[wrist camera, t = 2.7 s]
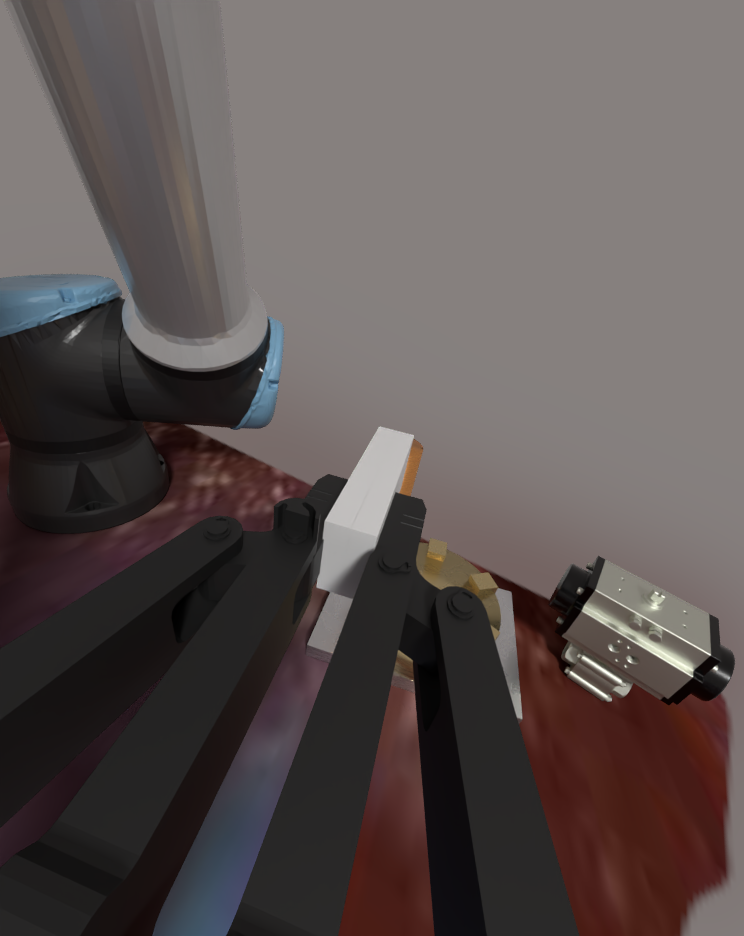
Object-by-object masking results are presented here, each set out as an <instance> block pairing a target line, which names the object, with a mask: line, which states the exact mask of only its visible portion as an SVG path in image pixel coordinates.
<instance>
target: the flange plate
mask: <svg viewBox="0 0 744 936" xmlns="http://www.w3.org/2000/svg"><path fill="white" fill-rule="evenodd" d="M495 595H496V597H497V599H498V603H499V606H500V612H501V625H500V630H499V632H500V634H499V636H498V638H497V639H496V641H495V643H496V646H497V650H498V653H499V657H500V660H501V664H502V667H503V671H504V674H505V678H506V681H507V685H508V688H509V692H510V695H511V699H512V702H513V706H514V709H515V713H516V716H517V720H518V723H520V722H521V721H522V709H521V697H520V686H519V674H518V663H517V651H516V639H515V628H514V616H513V605H512V593H511V592H510V591H506V590H503V589H500V588H498V589H497V591H496V593H495ZM352 601H353V599H351V598H348V597H345V596H342V595H338V594H335V593H332V592H330V594H329V596H328V598H327V601H326V603H325V605H324V607H323V610H322V612H321V614H320V616H319V619H318V621H317V623H316V626H315V628H314V630H313V632H312V635H311V637H310V639H309V641H308V644H307V649H306V655H308V656H311V657H313V658H316V659H319V660H322V661H325V662H328V663H330V660H331V657H332V655H333V652H334V649H335V647H336V644H337V641H338V639H339V636H340V633H341V631H342V628H343V625H344V622H345V620H346V617H347V614H348V612H349V609H350V606H351V604H352ZM391 685H393V686H396V687H399V688H402V689H405V690H408V691H410V692H413V693H415V686H414V680H412V679H409V678H407V677H404V676H402V675H400V674H398V673H396V672H395V671H394V672H393V677H392V682H391Z"/></svg>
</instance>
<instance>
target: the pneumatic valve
mask: <svg viewBox="0 0 744 936" xmlns="http://www.w3.org/2000/svg"><path fill="white" fill-rule="evenodd" d="M586 568H587V569H589V570H588V572H587V571H585V570H584V569H582V568H580V567H578V566H576V565H574V564H571V565H570V566H569V568H568V569H567V571H566V572H565V574H564V575H563V577H562V579H561V580H560V582H559V584H558V586H557V587H556V590H555V591H554V593H553V595H552V597H551V599H550V601H549V604H548V605H549V606H550V607H551V608H553V609H554V610H556V611H558V612H559V613H561V614H562V615H561V617H560V616H559V617H558V618H557V620H556V622H558V625H557V628H556V630H555V632H556V633H557V634H559V635H560V636H562V637H563V638H565V639H567V640H568V643H567V644H566V646H565V648H564V650H563V652H562V655H561V658H562V660H564V661H565V662H567V663H568V664H570V668H569V667H568V666H567V667H566V668H565V671H564V672H565V673H566V674H567V677H568V678H570V679H571V680H573V681H574V682H575V683H577V684H578V685H580V686H581V687H583V688H584V689H586V690H587V691H588V692H590V693H591V694H593V695H594V696H596V697H597V698H599V699H600V700H602V701H604V700H605V701H607V702H609V701H610V702H611V701H612V698H611V695H609V693H613V694H614V695H616V696H617V697H620V698H623V697H625V696H626V695H627V694H628V692H629V691H630V689H631V687H632V684H633V683H635V684H636V685H638V686H639V687H641V688H643V689H644V690H646V691H647V692H649V693H650V694H652V695H653V696H655V697H657V698H658V699H660V700H661V701H663V702H664V703H666V704H667V705H670V704H671V703H672V702H674V703H675V704H679V703H680V702H681V701H682V700H683V699H685V698H686V697H687V696H688V695H689V694H692V695H694V696H695V697H697V698H699V699H700V700H702V701H710V700H712V699H714V698H716V697H717V696H718V695H719V694H720V693H721V692H722V691H723V690H724V689H725V687H726V686H727V684H728V682H729V681H730V679H731V676H732V674H733V670H734V665H735V658H734V655H733V653H732V651H731V650H729V649H728V648H726V647H724V646H722V645H720V635H719V621H718V618H716V617H714V616H712V615H710V614H708V613H706V612H704V611H703V610H700V609H699V608H697V607H695V606H693V605H691V604H689V603H687V602H685V601H683V600H682V599H680V598H678V597H676V596H674V595H672V594H670V593H668V592H666V591H664V590H662V589H661V588H659V587H657V586H655V585H653V584H651V583H649V582H647V581H645V580H643V579H641V578H640V577H638V576H636V575H634V574H632V573H630V572H628V571H626V570H624V569H622V568H620V567H619V566H617V565H615V564H613V563H611V562H609V561H607V560H605V559H603V558H601V557H600V556H598V557H597V558H596V560H595V561H594V563H593V564H591V563H588V564H587V566H586Z"/></svg>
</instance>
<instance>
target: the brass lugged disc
mask: <svg viewBox="0 0 744 936" xmlns="http://www.w3.org/2000/svg"><path fill="white" fill-rule="evenodd" d="M422 452H423V447H422V445H421V444H420V443H419V442H418V441H416V440H415V439H413V442H412V446H411V450H410V454H409V458H408V462H407V466H406V470H405V474H404V478H403V482H402V486H401V490H400V494H404V495H407V496H411V492H412V489H413V485H414V481H415V478H416V474H417V470H418V467H419V463H420V459H421V456H422ZM446 549H447V543H445V542H442V541H438V540H435V539H432V538H430V541H429V544H426V543H419V547H418V552H417V557H416V565H417V569H418V571H419V572H420V574H421V575H422V576H423V577H424V579H425V580H427V581H428V582H429V583H431V584H432V585H434V586H435V587H437V588H439V589H440V590H441V589H443V588H446V587H449V586H458V587H461V588H465V589H467V590H469V591H470V592H472V593H474V594H475V595H476V596H477V597H478V598H479V599H480V600H481V601H482V603H483V605H484V607H485V609H486V611H487V615H488V618H489V622H490V625H491V629H492V632H493V636H494V639H495V641H496V639H497V638H498V636H499V634H500V632H499V630H500V625H501V612H500V606H499V603H498V599H497V597H496V595H495V593H496V591H497V589H498V586H497V585H496V583H495V582H494V580H493V579H492V577H491V576H490V574H489V573H480V572H479V571H478V570H477V569H476V568H475V567H474V566H473V565H472V564H470V563H469V562H468V561H466V560H465V559H463V558H462V557H460V556H459V555H457V554H455V553H453V552H451V551H449V550H446ZM394 671H395V672H396V673H398V674H400V675H402V676H404V677H407V678H409V679H412V680H414V674H413V660H412V659H410V658H409V657H408V656H406V655H405V654H403V653H402V652H401V651H399V650H398V654H397V658H396V663H395V668H394Z"/></svg>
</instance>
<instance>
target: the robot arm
mask: <svg viewBox="0 0 744 936" xmlns="http://www.w3.org/2000/svg"><path fill="white" fill-rule="evenodd" d="M3 1H4V4H5V6H6V8H7V11H8V13H9V15H10V17H11V20H12V22H13V24H14V27H15V29H16V31H17V34H18V36H19V38H20V40H21V43H22V45H23V47H24V49H25V52H26V54H27V57H28V58H29V61H30V63H31V66H32V68H33V70H34V73H35V75H36V77H37V79H38V82H39V84H40V86H41V89H42V91H43V93H44V96H45V98H46V100H47V103H48V105H49V107H50V109H51V111H52V114H53V116H54V118H55V121H56V123H57V125H58V128H59V130H60V132H61V134H62V137H63V139H64V142H65V144H66V146H67V148H68V151H69V153H70V155H71V158H72V160H73V162H74V165H75V167H76V169H77V171H78V174H79V176H80V178H81V180H82V183H83V185H84V187H85V190H86V192H87V194H88V196H89V199H90V201H91V203H92V206H93V208H94V210H95V213H96V215H97V217H98V220H99V222H100V224H101V227H102V229H103V231H104V233H105V235H106V238H107V240H108V243H109V245H110V247H111V249H112V252H113V254H114V256H115V258H116V261H117V263H118V266H119V268H120V270H121V272H122V275H123V277H124V279H125V282H126V284H127V286H128V289H129V291H130V292H129V294H128V296H127V298H126V299H122V298H121V297H120V296H121V295H122V291H121V290H120V289H119V287H118V285H117V283H116V282H115V281H114V280H113V279H110V278H104V277H101V276H96V275H78V274H76V275H75V274H51V275H29V276H15V277H6V278H0V420H1V422H2V425H3V427H4V429H5V432H6V434H7V437H8V439H9V442H10V446H11V449H10V462H9V484H8V487H7V495H8V499H9V501H10V504H11V506H12V508H13V510H14V513H15V515H16V516H17V518H18V519H19V520H20V521H21V522H22V523H24V524H26V525H27V526H29V527H32V528H34V529H37V530H41V531H45V532H52V533H84V532H91V531H97V530H102V529H106V528H110V527H114V526H117V525H120V524H123V523H125V522H128V521H130V520H133V519H135V518H137V517H139V516H141V515H143V514H144V513H146V512H147V511H149V510H150V509H152V508H153V507H154V506H156V505H157V504H158V503H159V502H160V501H161V500H162V499H163V497H164V496H165V494H166V493H167V491H168V488H169V476H168V470H167V465H166V463H165V461H164V459H163V457H162V456H161V455H160V454H159V452H158V450H157V448H156V446H155V444H154V443H153V441H152V440H151V438H150V436H149V435H148V433H147V432H146V430H145V428H144V426H143V422H142V421H147V422H161V423H175V424H189V425H203V426H216V427H228V428H231V429H234V430H237V429H240V428H262V427H265V426H266V425H268V424H269V423H270V421H271V420H272V417H273V414H274V410H275V405H276V399H277V393H278V383H279V377H280V373H281V364H282V354H283V341H284V328H283V325H282V324H281V322H280V321H278V320H274V319H273V318H272V317H268V316H267V313H266V309H265V306H264V304H263V302H262V300H261V298H260V297H259V296H258V294H257V293H256V292H255V291H254V290H253V288H251V287H250V286H249V285H248V284H247V281H246V271H245V261H244V249H243V239H242V228H241V218H240V207H239V198H238V187H237V177H236V176H237V175H236V165H235V155H234V144H233V134H232V123H231V112H230V102H229V91H228V80H227V70H226V59H225V50H224V38H223V28H222V18H221V7H220V0H3ZM413 438H414V435H410V434H407V433H403V432H399V431H395V430H391V429H387V428H384V427H379V428H378V430H377V432H376V433H375V435H374V437H373V438H372V440H371V442H370V444H369V445H368V447H367V449H366V451H365V452H364V454H363V456H362V457H361V459H360V461H359V463H358V464H357V466H356V468H355V470H354V471H353V473H352V475H351V476H350V478H349V480H347V479H344V478H340V477H337V476H333V475H330V474H328V475H326V476H324V477H322V478H321V479H319V480H318V481H317V482H316V483H315V485H314V486H313V487H312V490H310V492H309V493H308V494H307V497H305V499H301V498H289V499H285V500H283V501H280V502H279V503H277V504H276V505H275V506H274V528H273V530H272V531H267V532H253V531H243V528H242V525H241V523H239V522H238V521H237V520H236V519H234V518H231V517H228V516H215V517H210V518H207V519H205V520H203V521H200V522H199V523H197V524H196V525H194V526H192V527H191V528H189V529H188V530H186V531H185V532H183V533H181V534H180V535H178V536H177V537H175V538H174V539H172V540H170V541H169V542H167V543H166V544H164V545H163V546H161V547H159V548H158V549H156V550H155V551H153V552H152V553H150V554H148V555H147V556H145V557H144V558H142V559H141V560H139V561H137V562H136V563H134V564H133V565H131V566H130V567H128V568H126V569H125V570H123V571H122V572H120V573H119V574H117V575H115V576H114V577H112V578H111V579H109V580H107V581H106V582H104V583H103V584H101V585H100V586H98V587H96V588H95V589H93V590H92V591H90V592H89V593H87V594H85V595H84V596H82V597H81V598H79V599H78V600H76V601H74V602H73V603H71V604H70V605H68V606H67V607H65V608H63V609H62V610H60V611H59V612H57V613H56V614H54V615H52V616H51V617H49V618H48V619H46V620H45V621H43V622H41V623H40V624H38V625H37V626H35V627H34V628H32V629H30V630H29V631H27V632H26V633H24V634H23V635H21V636H19V637H18V638H16V639H15V640H13V641H12V642H10V643H8V644H7V645H5V646H4V647H2V648H1V649H0V828H1V827H2V826H3V825H4V824H5V823H6V822H7V821H8V820H9V819H10V818H11V817H12V816H13V815H14V814H16V813H17V812H18V811H19V810H20V809H21V808H22V807H23V806H24V805H25V804H26V803H27V802H28V801H29V800H30V799H32V798H33V797H34V796H35V795H36V794H37V793H38V792H39V791H40V790H41V789H42V788H43V787H44V786H45V785H46V784H48V783H49V782H50V781H51V780H52V779H53V778H54V777H55V776H56V775H57V774H58V773H59V772H60V771H61V770H62V769H64V768H65V767H66V766H67V765H68V764H69V763H70V762H71V761H72V760H73V759H74V758H75V757H76V756H77V755H78V754H80V753H81V752H82V751H83V750H84V749H85V748H86V747H87V746H88V745H89V744H90V743H91V742H92V741H93V740H94V739H96V738H97V737H98V736H99V735H100V734H101V733H102V732H103V731H104V730H105V729H106V728H107V727H108V726H109V725H110V724H111V723H113V722H114V721H115V720H116V719H117V718H118V717H119V716H120V715H121V714H122V713H123V712H124V711H125V710H126V709H127V708H129V707H130V706H131V705H132V704H133V703H134V702H135V701H136V700H137V699H138V698H139V697H140V696H141V695H142V694H143V693H145V692H146V691H147V690H148V689H149V688H150V687H151V686H152V685H153V684H154V683H155V682H156V681H157V680H158V679H159V678H161V677H162V676H163V675H164V674H165V673H166V672H167V673H166V674H165V675H164V677H163V678H162V679H161V681H160V682H159V683H158V685H157V686H156V687H155V689H154V690H153V692H152V693H151V694H150V696H149V697H148V698H147V700H146V701H145V702H144V704H143V705H142V706H141V708H140V709H139V710H138V712H137V713H136V714H135V716H134V717H133V718H132V720H131V721H130V722H129V724H128V725H127V727H126V728H125V729H124V731H123V732H122V733H121V735H120V736H119V737H118V739H117V740H116V741H115V743H114V744H113V745H112V747H111V748H110V749H109V751H108V752H107V753H106V755H105V756H104V758H103V759H102V760H101V762H100V763H99V764H98V766H97V767H96V768H95V770H94V771H93V772H92V774H91V775H90V776H89V778H88V779H87V780H86V782H85V783H84V784H83V786H82V787H81V789H80V790H79V791H78V793H77V794H76V795H75V797H74V798H73V799H72V801H71V802H70V803H69V805H68V806H67V807H66V809H65V810H64V811H63V813H62V814H61V815H60V817H59V818H58V819H57V821H56V822H55V823H54V824H53V826H52V827H51V828H50V829H49V830H48V832H46V833H45V834H44V835H43V836H42V837H41V838H40V839H39V840H38V841H36V842H35V843H33V844H31V845H30V846H28V847H26V848H25V849H23V850H21V851H20V852H18V853H16V854H15V855H14V856H13V857H11V858H10V859H9V860H8V861H7V862H6V863H5V864H4V865H3V866H2V867H1V868H0V936H152V934H153V931H154V927H155V924H156V921H157V918H158V916H159V913H160V911H161V909H162V906H163V904H164V902H165V900H166V898H167V896H168V894H169V892H170V889H171V887H172V885H173V883H174V881H175V879H176V877H177V875H178V873H179V871H180V869H181V867H182V865H183V863H184V861H185V858H186V856H187V854H188V852H189V850H190V848H191V846H192V844H193V842H194V840H195V838H196V836H197V834H198V832H199V830H200V827H201V825H202V823H203V821H204V819H205V817H206V815H207V813H208V811H209V809H210V807H211V805H212V803H213V801H214V799H215V797H216V794H217V792H218V790H219V788H220V786H221V784H222V782H223V780H224V778H225V776H226V774H227V772H228V770H229V768H230V766H231V763H232V761H233V759H234V757H235V755H236V753H237V751H238V749H239V747H240V745H241V743H242V741H243V739H244V737H245V735H246V732H247V730H248V728H249V726H250V724H251V722H252V720H253V718H254V716H255V714H256V712H257V710H258V708H259V706H260V704H261V702H262V699H263V697H264V695H265V693H266V691H267V689H268V687H269V685H270V683H271V681H272V679H273V677H274V675H275V673H276V671H277V668H278V666H279V664H280V662H281V660H282V658H283V656H284V654H285V652H286V650H287V648H288V646H289V644H290V642H291V640H292V637H293V635H294V633H295V631H296V629H297V627H298V625H299V623H300V621H301V619H302V617H303V615H304V613H305V611H306V609H307V607H308V604H309V602H310V599H311V593H312V588H313V586H314V584H315V582H316V580H317V588H320V589H323V590H326V591H329V592H332V593H335V594H338V595H342V596H345V597H348V598H351V599H353V601H352V604H351V606H350V609H349V612H348V614H347V617H346V620H345V622H344V625H343V628H342V631H341V633H340V636H339V639H338V641H337V644H336V647H335V649H334V652H333V655H332V657H331V660H330V663H329V666H328V668H327V671H326V674H325V676H324V679H323V682H322V684H321V687H320V690H319V692H318V695H317V698H316V700H315V703H314V706H313V709H312V711H311V714H310V717H309V719H308V722H307V725H306V727H305V730H304V733H303V735H302V738H301V741H300V744H299V746H298V749H297V752H296V754H295V757H294V760H293V762H292V765H291V768H290V770H289V773H288V776H287V779H286V781H285V784H284V787H283V789H282V792H281V795H280V797H279V800H278V803H277V805H276V808H275V811H274V813H273V816H272V819H271V822H270V824H269V827H268V830H267V832H266V835H265V838H264V840H263V843H262V846H261V848H260V851H259V854H258V857H257V859H256V862H255V865H254V867H253V870H252V873H251V875H250V878H249V881H248V883H247V886H246V889H245V891H244V894H243V897H242V900H241V902H240V905H239V907H238V910H237V913H236V915H235V918H234V920H233V922H232V925H231V927H230V929H229V931H228V933H227V935H226V936H338V932H339V928H340V923H341V918H342V914H343V909H344V904H345V899H346V895H347V890H348V885H349V880H350V876H351V871H352V866H353V862H354V857H355V852H356V847H357V843H358V838H359V833H360V828H361V824H362V819H363V814H364V810H365V805H366V800H367V795H368V791H369V786H370V781H371V776H372V772H373V767H374V762H375V758H376V753H377V748H378V743H379V739H380V734H381V729H382V724H383V720H384V715H385V710H386V706H387V701H388V696H389V691H390V687H391V682H392V677H393V672H394V668H395V663H396V658H397V654H398V650H399V651H401V652H402V653H403V654H405V655H406V656H408V657H409V658H410V659H412V660H413V674H414V686H415V698H416V711H417V723H418V735H419V748H420V760H421V773H422V785H423V797H424V810H425V822H426V834H427V847H428V859H429V872H430V884H431V896H432V909H433V921H434V933H435V936H579V933H578V929H577V926H576V922H575V919H574V915H573V912H572V908H571V905H570V901H569V898H568V894H567V891H566V887H565V884H564V880H563V877H562V873H561V870H560V866H559V863H558V859H557V856H556V853H555V849H554V846H553V842H552V839H551V835H550V832H549V828H548V825H547V821H546V818H545V814H544V811H543V807H542V804H541V800H540V797H539V793H538V790H537V786H536V783H535V779H534V776H533V772H532V769H531V765H530V762H529V758H528V755H527V751H526V748H525V744H524V741H523V737H522V734H521V730H520V727H519V723H518V720H517V716H516V713H515V709H514V706H513V702H512V699H511V695H510V692H509V688H508V685H507V681H506V678H505V674H504V671H503V667H502V664H501V660H500V657H499V653H498V650H497V646H496V643H495V639H494V636H493V632H492V629H491V625H490V622H489V618H488V615H487V611H486V609H485V607H484V605H483V603H482V601H481V600H480V599H479V598H478V597H477V596H476V595H475V594H474V593H472V592H470V591H469V590H467V589H465V588H461V587H458V586H449V587H446V588H443V589H441V590H440V589H439V588H437V587H435V586H434V585H432V584H431V583H429V582H428V581H427V580H425V579H424V577H423V576H422V575H421V574H420V572H419V571H418V569H417V565H416V557H417V552H418V547H419V543H420V538H421V533H422V528H423V523H424V519H425V514H426V508H425V505H424V503H423V500H422V499H418V498H415V497H411V496H407V495H404V494H400V490H401V486H402V482H403V478H404V474H405V470H406V466H407V462H408V458H409V454H410V450H411V446H412V442H413ZM317 578H318V579H317Z"/></svg>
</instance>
